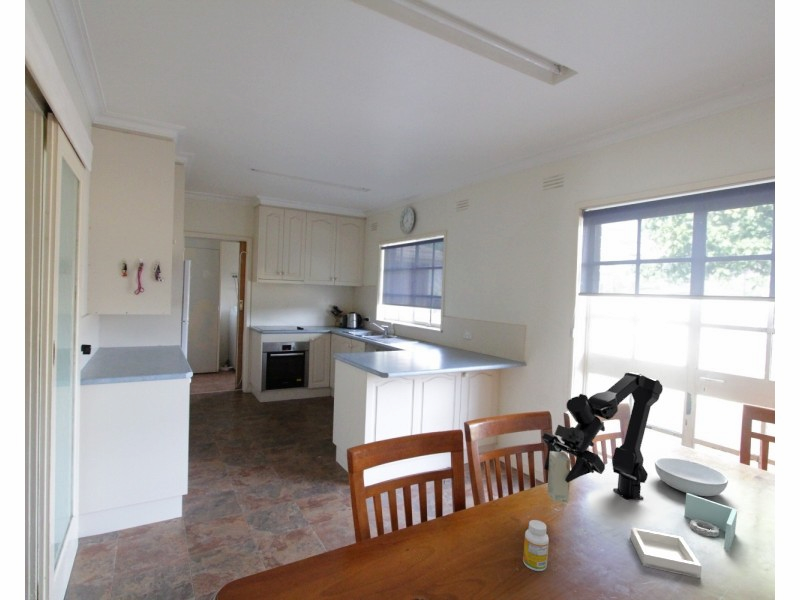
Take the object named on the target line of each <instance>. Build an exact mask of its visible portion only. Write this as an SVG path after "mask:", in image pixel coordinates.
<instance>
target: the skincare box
mask: <svg viewBox="0 0 800 600" xmlns="http://www.w3.org/2000/svg"><path fill="white" fill-rule="evenodd" d="M571 463H572V460H571V458H570V457H569V456H568V455H567V454H566V452H565V451H561V452H554V451H550V454H549V469H548V470H547V471H548V472H547V488H546V489H547V491H546V492H547V494H548V495H549V497H550V499H551V501H552V502H554V503H563V504H564V503H565V504H568V503H569V499H570V498H569V495H570V494H569V493H570V482H568V483H567V482H566V481H565V479H566V477H567V475H568V474H569V472H570V471H571V467H572V466H571Z"/></svg>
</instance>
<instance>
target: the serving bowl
mask: <svg viewBox="0 0 800 600" xmlns="http://www.w3.org/2000/svg"><path fill="white" fill-rule="evenodd" d="M654 467H655V471H656V473H657V475H658V477H659V478H660V479H661V481H663V482H664V483H665V484H667V485H668V486H669V487H672V488H673V489H675V490H677V491H681V492H683V493H686V494H687V493H689V494H692V495H695V496H698V497H714V496H718V495H720V494H721V493H723V492H724V491H725V490H726V488H727V486H728V483H729V478H728V477H727V476H726V475H725V474H723V473H722V472H721V471H719V470H717V469H715V468H713V467H710V466H709V465H708V466H707V465H705V464H703V463H699V462H695V461H693V460H692V461H691V460H688V459H687V460H686V459H681V458H676V457H675V458H674V457H660V458H657V459H656V460H654Z"/></svg>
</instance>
